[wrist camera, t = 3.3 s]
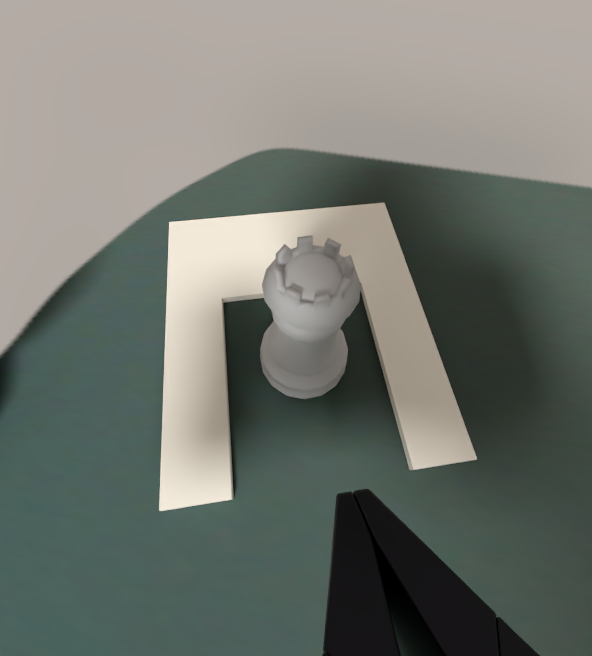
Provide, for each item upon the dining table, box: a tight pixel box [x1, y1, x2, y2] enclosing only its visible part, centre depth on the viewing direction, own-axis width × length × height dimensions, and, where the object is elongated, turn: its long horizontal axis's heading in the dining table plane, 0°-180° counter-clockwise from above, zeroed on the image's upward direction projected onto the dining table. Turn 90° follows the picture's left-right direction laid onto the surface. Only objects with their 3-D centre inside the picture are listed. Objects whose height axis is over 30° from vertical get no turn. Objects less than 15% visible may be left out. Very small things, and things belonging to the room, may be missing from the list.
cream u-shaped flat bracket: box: [159, 203, 477, 511], centre depth 17 cm, size 16×14×1 cm
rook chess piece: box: [260, 235, 361, 399], centre depth 13 cm, size 4×4×8 cm
